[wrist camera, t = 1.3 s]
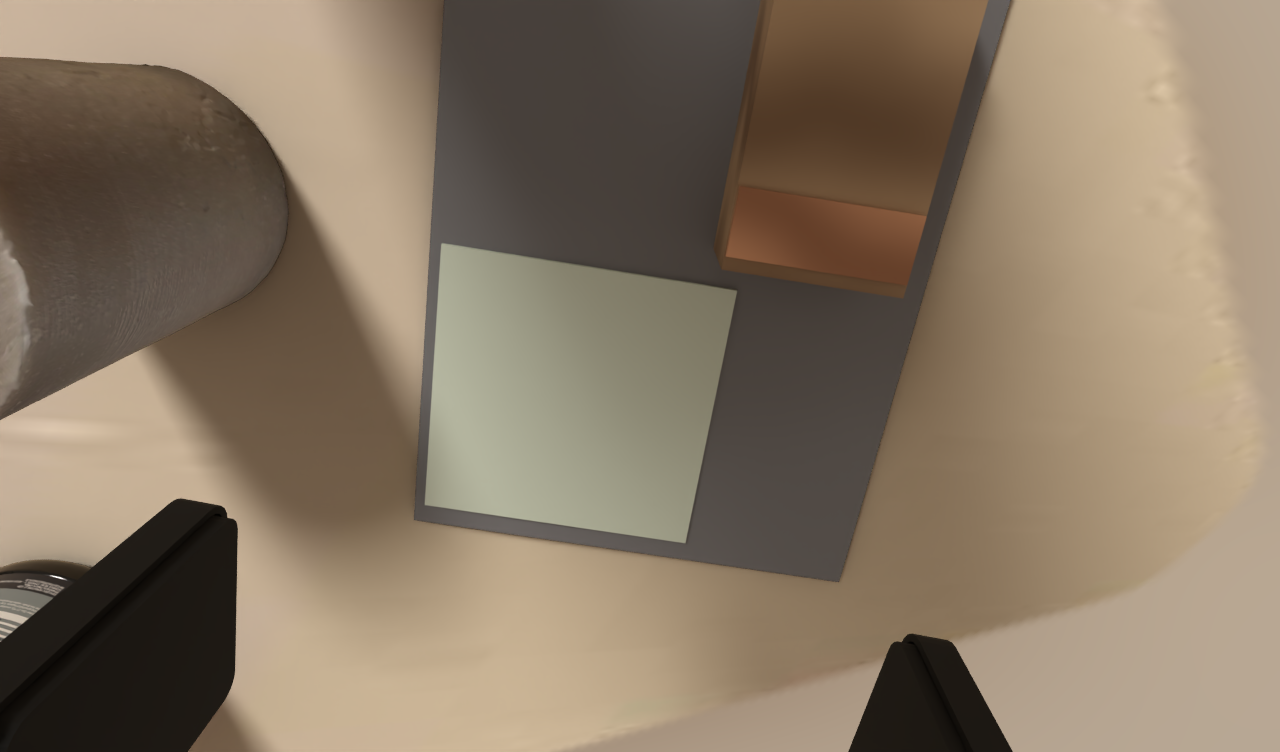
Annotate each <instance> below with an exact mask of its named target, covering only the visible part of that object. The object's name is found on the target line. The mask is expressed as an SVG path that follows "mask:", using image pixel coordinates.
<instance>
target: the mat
mask: <svg viewBox="0 0 1280 752" xmlns="http://www.w3.org/2000/svg"><path fill="white" fill-rule="evenodd" d="M760 1H761V0H444V13H443V30H442V48H441V65H440V82H439V99H438V116H437V133H436V150H435V168H434V185H433V202H432V219H431V236H430V253H429V270H428V287H427V305H426V322H425V339H424V356H423V373H422V390H421V407H420V425H419V442H418V459H417V476H416V493H415V510H414V520H417V521H424V522H431V523H438V524H445V525H451V526H458V527H465V528H472V529H479V530H486V531H492V532H499V533H506V534H513V535H520V536H527V537H533V538H540V539H547V540H554V541H561V542H568V543H574V544H581V545H588V546H595V547H602V548H609V549H615V550H622V551H629V552H636V553H643V554H650V555H657V556H663V557H670V558H677V559H684V560H691V561H698V562H704V563H711V564H718V565H725V566H732V567H739V568H745V569H752V570H759V571H766V572H773V573H780V574H786V575H793V576H800V577H807V578H814V579H821V580H827V581H834V582H839V580H840V577H841V574H842V570H843V567H844V563H845V560H846V557H847V553H848V550H849V547H850V543H851V540H852V536H853V533H854V530H855V526H856V523H857V519H858V516H859V513H860V509H861V506H862V502H863V499H864V496H865V492H866V489H867V485H868V482H869V479H870V475H871V472H872V468H873V465H874V462H875V458H876V455H877V451H878V448H879V445H880V441H881V438H882V435H883V431H884V428H885V424H886V421H887V418H888V414H889V411H890V407H891V404H892V401H893V397H894V394H895V390H896V387H897V384H898V380H899V377H900V373H901V370H902V367H903V363H904V360H905V356H906V353H907V350H908V346H909V343H910V339H911V336H912V333H913V329H914V326H915V323H916V319H917V316H918V312H919V309H920V306H921V302H922V299H923V295H924V292H925V289H926V285H927V282H928V278H929V275H930V272H931V268H932V265H933V261H934V258H935V255H936V251H937V248H938V244H939V241H940V238H941V234H942V231H943V227H944V224H945V221H946V217H947V214H948V211H949V207H950V204H951V200H952V197H953V194H954V190H955V187H956V183H957V180H958V177H959V173H960V170H961V166H962V163H963V160H964V156H965V153H966V149H967V146H968V143H969V139H970V136H971V132H972V129H973V126H974V122H975V119H976V115H977V112H978V109H979V105H980V102H981V99H982V95H983V92H984V88H985V85H986V82H987V78H988V75H989V71H990V68H991V65H992V61H993V58H994V54H995V51H996V48H997V44H998V41H999V37H1000V34H1001V31H1002V27H1003V24H1004V20H1005V17H1006V14H1007V10H1008V7H1009V3H1010V0H988V3H987V7H986V10H985V14H984V17H983V21H982V24H981V28H980V31H979V35H978V38H977V42H976V45H975V49H974V52H973V56H972V60H971V63H970V67H969V70H968V74H967V77H966V81H965V84H964V88H963V91H962V95H961V98H960V102H959V105H958V109H957V112H956V116H955V119H954V123H953V126H952V130H951V133H950V137H949V140H948V144H947V147H946V151H945V154H944V158H943V161H942V165H941V168H940V172H939V175H938V179H937V182H936V186H935V189H934V193H933V196H932V200H931V203H930V207H929V210H928V214H927V218H926V221H925V225H924V228H923V232H922V235H921V239H920V242H919V246H918V249H917V253H916V256H915V260H914V263H913V267H912V270H911V274H910V277H909V281H908V284H907V287H906V291H905V294H904V298H897V297H890V296H884V295H878V294H872V293H865V292H859V291H853V290H846V289H840V288H834V287H828V286H821V285H815V284H809V283H803V282H796V281H790V280H784V279H777V278H771V277H765V276H759V275H752V274H746V273H740V272H733V271H727V270H721V267H720V265H719V262H718V259H717V257H716V254H715V251H714V249H713V248H714V243H715V237H716V232H717V227H718V222H719V216H720V211H721V206H722V201H723V195H724V190H725V185H726V180H727V174H728V169H729V164H730V159H731V153H732V148H733V143H734V138H735V132H736V127H737V122H738V116H739V111H740V106H741V101H742V95H743V90H744V85H745V80H746V74H747V69H748V64H749V59H750V53H751V48H752V43H753V38H754V32H755V27H756V22H757V17H758V11H759V6H760Z"/></svg>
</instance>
